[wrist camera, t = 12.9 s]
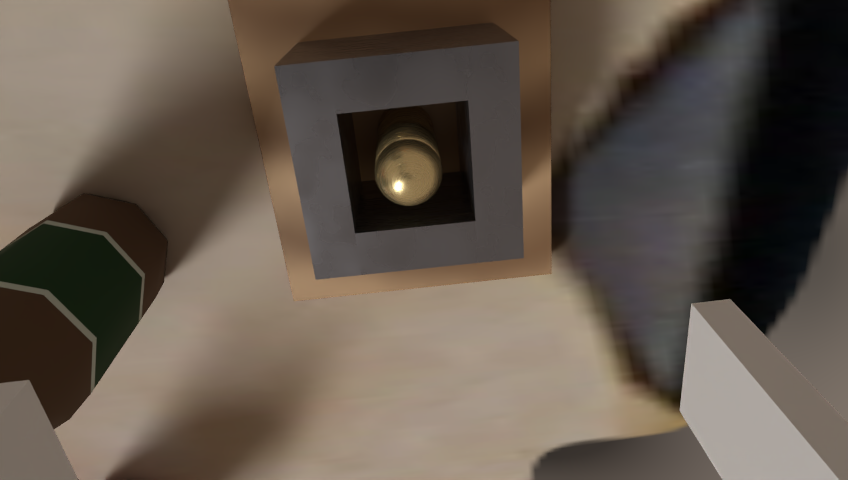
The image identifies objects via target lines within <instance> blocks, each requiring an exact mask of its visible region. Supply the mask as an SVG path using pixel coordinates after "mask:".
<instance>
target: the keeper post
mask: <svg viewBox="0 0 848 480" xmlns="http://www.w3.org/2000/svg"><path fill="white" fill-rule="evenodd" d="M375 179H376V183H377V186H378V187H379V189H380V191H381V192H382V194H383V195H384V196H385V197H386V198H387V199H389V200H390V201H392V202H394V203H396V204H399V205H403V206H414V205H418V204H421V203H424V202H425V201H427V200H428V199H430V198H431V197H432V196H433V195H434V194H435V193H436V191H437V190H438V188H439V186H440V183H441V180H442V164H441V160H440V155H439V151H438V147H437V142H436V138H435V134H434V129H433V125H432V121H431V119H430V116H429V115H428V113H427V112H426V111H425V110H424V109H423V108H421V107H420V106H409V107H400V108H390V109H387V110H386V111H385V112H384V113H383V114H382V116H381V118H380V120H379V123H378V133H377V146H376V159H375Z"/></svg>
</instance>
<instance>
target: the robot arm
mask: <svg viewBox="0 0 848 480" xmlns="http://www.w3.org/2000/svg"><path fill="white" fill-rule="evenodd" d="M680 412H681V414H682V415H683V417H684V419H685V420H686V422H687V423H688V425H689V427H690V428H691V430H692V431H693V433H694V435H695V436H696V438H697V439H698V441H699V442H700V444H701V446H702V447H703V449H704V451H705V452H706V454H707V455H708V457H709V459H710V460H711V462H712V464H713V465H714V466H715V468H716V470H717V472H718V473H719V475H720V477H721V478H722V480H848V422H847V421H846V420H845V419H844V418H843V417H842V416H841V415H840V413H839V412H838V411H837V410H836V409H835V408H834V407H833V406H832V405H831V404H830V403H829V402H828V401H827V400H826V399H825V398H824V397H823V396H822V395H821V394H820V393H819V392H818V391H817V389H815V387H814V386H813V385H812V384H811V383H810V382H809V381H808V380H807V379H806V378H805V377H804V376H803V375H802V374H801V373H800V372H799V371H798V370H797V369H796V368H795V366H794V365H793V364H792V363H791V362H790V361H789V360H788V359H787V358H786V357H785V356H784V355H783V354H782V353H781V352H780V351H779V350H778V349H777V348H776V347H775V346H774V345H773V344H772V342H771V341H770V340H769V339H768V338H767V337H766V336H765V335H764V334H763V333H762V332H761V331H760V330H759V329H758V328H757V327H756V326H755V325H754V324H753V323H752V322H751V321H750V319H749V318H748V317H747V316H746V315H745V314H744V313H743V312H742V311H741V310H740V309H739V308H738V307H737V306H736V305H735V304H734V303H733V302H732V301H731V300H730V299H727V300H719V301H710V302H701V303H693V304H691V313H690V322H689V331H688V340H687V349H686V358H685V367H684V376H683V386H682V395H681V404H680ZM0 480H78V478H77V476H76V474H75V472H74V470H73V468H72V466H71V464H70V462H69V460H68V458H67V456H66V454H65V452H64V450H63V448H62V446H61V444H60V442H59V439H58V437H57V435H56V433H55V431H54V429H53V427H52V425H51V423H50V421H49V419H48V417H47V415H46V413H45V411H44V409H43V407H42V405H41V403H40V401H39V399H38V397H37V395H36V393H35V391H34V389H33V387H32V385H31V383H30V380H24V381H15V382H7V383H0Z"/></svg>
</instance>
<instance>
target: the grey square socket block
mask: <svg viewBox="0 0 848 480" xmlns="http://www.w3.org/2000/svg"><path fill="white" fill-rule="evenodd" d="M274 68H275V74H276V79H277V84H278V89H279V94H280V99H281V104H282V110H283V115H284V120H285V125H286V130H287V135H288V140H289V146H290V151H291V156H292V161H293V166H294V171H295V176H296V181H297V187H298V192H299V197H300V202H301V207H302V212H303V217H304V223H305V228H306V233H307V238H308V243H309V248H310V253H311V259H312V264H313V269H314V274H315V279H316V280H319V279H329V278H338V277H348V276H357V275H367V274H377V273H386V272H396V271H406V270H415V269H425V268H434V267H444V266H454V265H463V264H473V263H482V262H492V261H502V260H511V259H521V258H524V244H523V200H522V157H521V113H520V69H519V41H518V40H517V39H515V38H514V37H513V36H511V35H510V34H508V33H507V32H506V31H504V30H503V29H502V28H500V27H499V26H497V25H496V24H495V23H493V22H491V23H481V24H471V25H461V26H452V27H442V28H432V29H422V30H413V31H403V32H393V33H383V34H374V35H364V36H354V37H344V38H335V39H325V40H315V41H305V42H298V43H297V44H296V45H295V46H294V47H293V48H292V49H291V50H290V51H289V52H288V53H287V54H286V55H285V56H284V57H283V58H282V59H281V60H280V61H279V62H278V63H277V64H276V65H275V66H274ZM448 102H455V104H456V119H457V133H458V147H459V162H460V171H457V172H447V173H442V180H441V183H440V186H439V188H438V190H437V191H436V193H435V194H434V195H433V196H432V197H431V198H430V199H428V200H427V201H425V202H424V203H421V204H418V205H414V206H403V205H399V204H396V203H394V202H392V201H390V200H389V199H387V198H386V197H385V196H384V195H383V194H382V192H381V191H380V189H379V187H378V186H377V183H376V180H370V181H362V180H361V173H360V166H359V159H358V152H357V146H356V139H355V132H354V125H353V118H352V112H361V111H371V110H380V109H390V108H400V107H409V106H419V105H429V104H439V103H448Z"/></svg>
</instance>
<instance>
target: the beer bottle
mask: <svg viewBox="0 0 848 480" xmlns="http://www.w3.org/2000/svg"><path fill="white" fill-rule="evenodd" d="M167 243H168V242H167V239H166V238H165V237H164V236H163V235H162V234H161V232H160V231H159V230H158V229H157V228H156V227H155V226H154V224H153V223H152V222H151V221H150V220H149V219H148V218H147V216H146V215H145V214H144V213H143V212H142V211H141V210H140V208H139V207H138V206H137V205H136V204H132V203H127V202H122V201H118V200H113V199H108V198H103V197H99V196H94V195H89V194H82V195H81V196H79V197H77V198H76V199H74V200H73V201H71V202H70V203H68V204H67V205H65V206H63V207H62V208H60V209H59V210H57V211H56V212H54V213H52V214H51V215H49V216H48V217H46V218H45V219H43V220H42V221H40V222H38V223H37V224H35V225H34V226H32V227H31V228H29V229H28V230H26V231H25V232H24V233H23V234H21V235H20V236H19V237H17V238H16V239H15V240H14V241H12V242H11V243H10V244H8V245H7V246H6V247H4V248H3V249H2V250H1V251H0V383H7V382H15V381H24V380H30V383H31V385H32V387H33V389H34V391H35V393H36V395H37V397H38V399H39V401H40V403H41V405H42V407H43V409H44V411H45V413H46V415H47V417H48V419H49V421H50V423H51V425H52V427H53V429H55V428H57V427H58V426H60V425H61V424H63V423H64V422H66V421H67V420H69V419H70V418H71V417H72V415H73V414H74V413H75V412H76V411H77V409H78V408H79V407H80V406H81V405H82V403H83V402H84V401H85V400H86V399H87V397H88V396H89V395H90V394H91V392H92V391H93V389H94V388H95V386H96V385H97V384H98V382H99V381H100V379H101V378H102V376H103V375H104V373H105V372H106V370H107V369H108V367H109V366H110V364H111V363H112V361H113V360H114V358H115V357H116V355H117V354H118V352H119V351H120V349H121V348H122V347H123V345H124V344H125V342H126V341H127V339H128V338H129V336H130V335H131V333H132V332H133V330H134V329H135V327H136V326H137V324H138V323H139V321H140V320H141V318H142V317H143V315H144V314H145V312H146V311H147V310H148V308H149V307H150V305H151V304H152V302H153V301H154V299H155V298H156V296H157V294H158V292H159V290H160V288H161V287H162V285H163V283H164V275H165V265H166V254H167Z"/></svg>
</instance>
